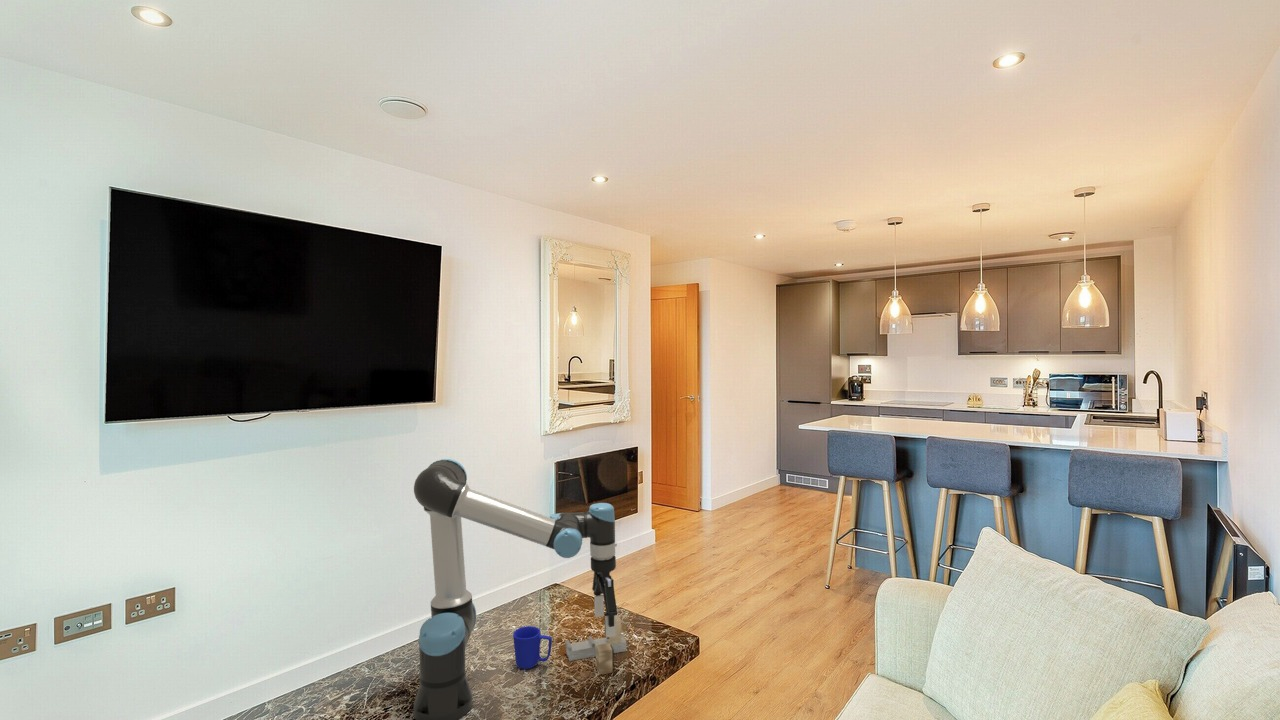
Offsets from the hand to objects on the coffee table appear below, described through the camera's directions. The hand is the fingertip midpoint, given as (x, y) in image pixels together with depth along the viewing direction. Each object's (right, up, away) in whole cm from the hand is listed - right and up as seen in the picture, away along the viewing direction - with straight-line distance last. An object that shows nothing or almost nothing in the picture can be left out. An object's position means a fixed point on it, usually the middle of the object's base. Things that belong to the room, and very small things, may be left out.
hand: (604, 626), depth 176 cm
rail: (-3, -13, +11) cm, 17 cm away
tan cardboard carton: (0, -13, 0) cm, 13 cm away
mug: (-22, -14, +3) cm, 26 cm away
